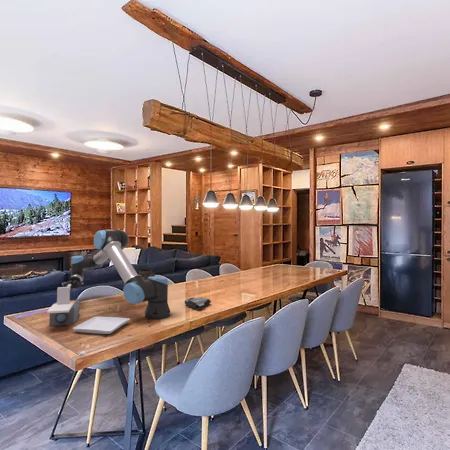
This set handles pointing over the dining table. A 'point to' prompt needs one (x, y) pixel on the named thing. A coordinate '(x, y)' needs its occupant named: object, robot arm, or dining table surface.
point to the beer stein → (146, 273)
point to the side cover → (62, 301)
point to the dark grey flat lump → (197, 302)
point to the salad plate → (101, 325)
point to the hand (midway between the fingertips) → (68, 288)
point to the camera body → (65, 315)
